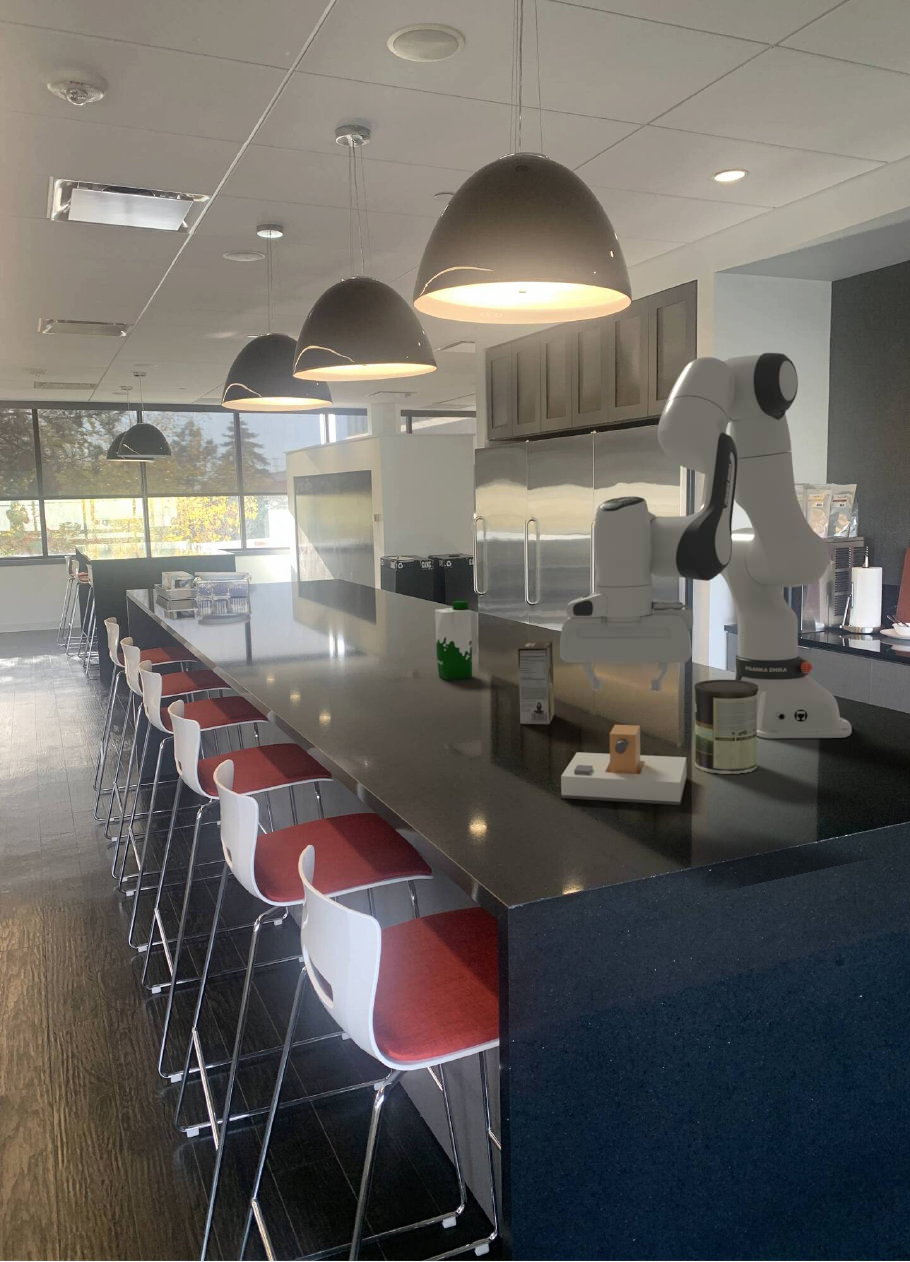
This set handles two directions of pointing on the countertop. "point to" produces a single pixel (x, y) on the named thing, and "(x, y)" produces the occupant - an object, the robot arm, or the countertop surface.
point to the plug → (625, 749)
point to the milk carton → (454, 641)
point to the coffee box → (536, 682)
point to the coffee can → (726, 726)
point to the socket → (625, 780)
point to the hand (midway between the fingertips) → (626, 690)
